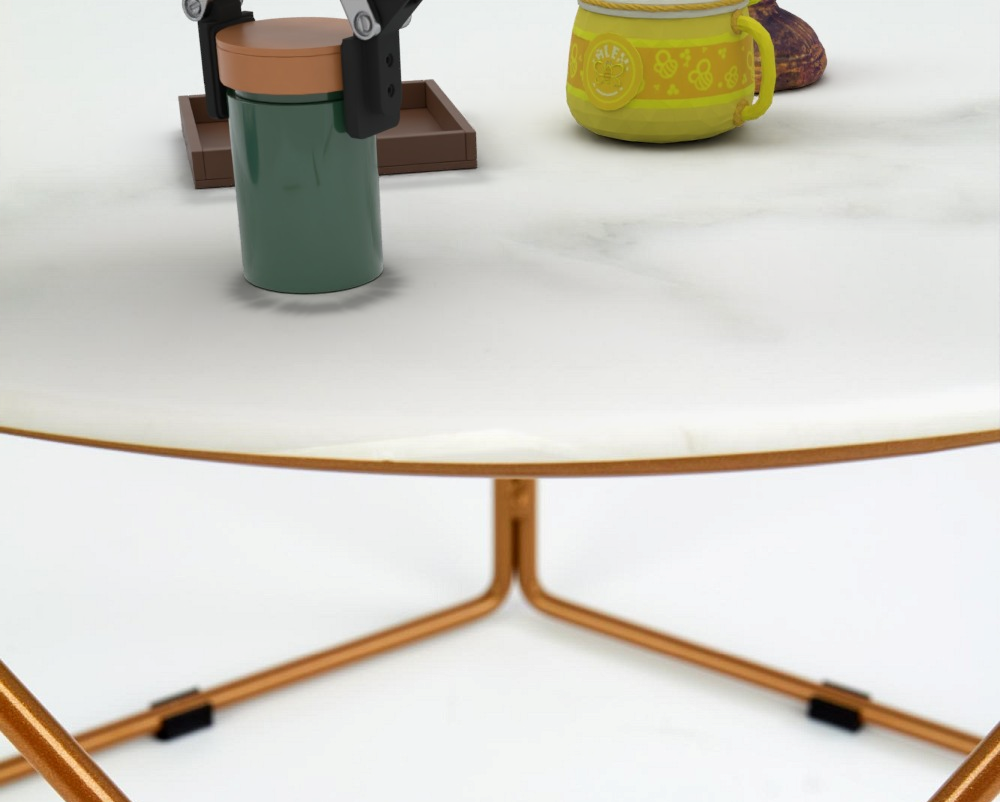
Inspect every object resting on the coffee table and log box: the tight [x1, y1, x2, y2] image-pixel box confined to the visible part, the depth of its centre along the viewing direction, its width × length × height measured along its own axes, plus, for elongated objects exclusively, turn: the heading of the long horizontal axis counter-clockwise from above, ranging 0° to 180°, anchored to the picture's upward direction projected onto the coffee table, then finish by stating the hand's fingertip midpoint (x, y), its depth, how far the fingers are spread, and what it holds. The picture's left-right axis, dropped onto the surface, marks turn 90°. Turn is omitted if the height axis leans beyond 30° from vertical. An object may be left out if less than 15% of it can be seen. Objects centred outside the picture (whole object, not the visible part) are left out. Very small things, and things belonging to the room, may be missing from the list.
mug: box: [565, 0, 776, 144], centre depth 95 cm, size 13×11×12 cm
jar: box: [226, 88, 384, 294], centre depth 76 cm, size 6×6×10 cm
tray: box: [177, 78, 478, 189], centre depth 97 cm, size 15×13×2 cm
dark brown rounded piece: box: [747, 0, 828, 94], centre depth 109 cm, size 12×12×7 cm
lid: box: [216, 16, 353, 95], centre depth 73 cm, size 7×7×2 cm
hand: (303, 118), depth 75 cm, fingers closed on lid, 6 cm apart
